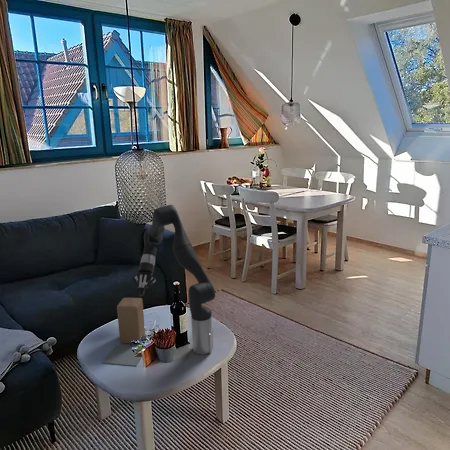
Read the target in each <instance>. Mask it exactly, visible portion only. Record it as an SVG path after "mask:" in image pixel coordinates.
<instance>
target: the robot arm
mask: <svg viewBox="0 0 450 450" xmlns="http://www.w3.org/2000/svg"><path fill="white" fill-rule="evenodd" d="M152 213H153V214H152V224H151V227H150V229H149V228H148V229H146V230H145V231H144V233H143V242H144V243H143V245H144V246H143V251H142V256H141V258H140V263H139V267H138V273H137V274H136V276H132V277H131V278H132V281H133V283H134V284H135V286H136V287H137V288H138V291H137V294H138V296H139V297H143V296H144V295H145V291H146V289H150V287H152V285H154V284H155V283H156V282H157V280H156V278H155V277H154V275H153V273H154V269H155V266H156V256H157V252H158V248H157V247H156V246H155V245H160V244H162V242H163V240H164V235H163V234H164V232H165V227H166V226H168V225H173V227H174V238H173V242H172V253H173V254H174V257H175V259H176V260H177V261H176V262H177V263H178V264H179V265H180V266H181V267H182V268H183V269H185V270H186V271H188V272H189V273H190V274H192V276H194V278H195V279H196V280H197V283H195V284H192V285H190V286H189V287H188V291H187V292H188V293H187V294H188V301H189V303H188V304H189V311H190V315H191V316H190V317H191V338H192V339H191V341H192V347H191V348H192V351H193V353H195V354H197V355H207V354H211V353H212V351H213V349H214V329H213V327H212V319H213V318H212V310H211V308H210V307H208V306H205V305H203V304H205V303H208V302H211V301H213V300H214V299H215V298H216V291H215V289H214V286H213V284H212V282H211V280H210V279H209V277H208V275H207V274H206V271H205V270H204V268H203V266H202V265H201V262H200V260H199V258H198V256H197V253H196V252H195V249H194V247H193V245H192V243H191V241H190V239H189V237H188V235H187V233H186V230H185V228H184V227H183V223H182V221H181V218H180V215H179V213H178V210H177V209H176V207H175V206H174V205H173V204H168V205H167V204H166V205H163V206H160V207H158V208H155V209H154V210H153V212H152ZM152 244H153V245H152Z"/></svg>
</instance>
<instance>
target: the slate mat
mask: <svg viewBox="0 0 450 450" xmlns="http://www.w3.org/2000/svg"><path fill="white" fill-rule="evenodd" d="M132 346H133V345H123V344H115V345H114V346H113V347H112V348H111V350H110V351H109V352H108V354H107V355H106V357H105V358H104V359H103V360H102V362H101V363H102V364H108V365H117V366H118V365H119V366H129V367H137V366H138V364H139V363H140V361H141V360H142V358H141V357H135V356H134V354H133V352H132Z"/></svg>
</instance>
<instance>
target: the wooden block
mask: <svg viewBox="0 0 450 450" xmlns="http://www.w3.org/2000/svg"><path fill="white" fill-rule="evenodd" d="M143 301H144V300H143V298H142V297H123V298H122V299H121V300H120V301H119V303H117V306H116V313H117V324H118V332H119V341H120V343H121V344H132V343H131V341H133V340H139V339H140V338H141V336H143V335H144V336H145V334H146V329H145V328H144V326H145V316H144V313H145V312H144V303H143ZM144 336H143V337H144Z"/></svg>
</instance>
